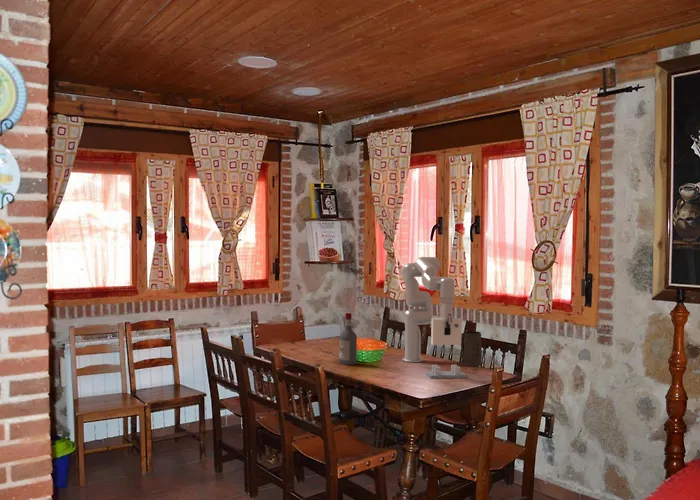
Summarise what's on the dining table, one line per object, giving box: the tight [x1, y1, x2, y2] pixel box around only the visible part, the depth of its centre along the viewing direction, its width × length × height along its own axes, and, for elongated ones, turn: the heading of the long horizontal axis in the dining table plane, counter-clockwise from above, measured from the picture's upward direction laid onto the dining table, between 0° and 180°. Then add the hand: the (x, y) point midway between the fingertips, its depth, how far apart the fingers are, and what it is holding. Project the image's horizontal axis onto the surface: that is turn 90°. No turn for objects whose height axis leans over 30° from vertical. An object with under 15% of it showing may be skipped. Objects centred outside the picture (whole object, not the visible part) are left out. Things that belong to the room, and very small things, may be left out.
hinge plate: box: [425, 364, 467, 379], centre depth 330 cm, size 10×20×6 cm, turn 98°
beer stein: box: [460, 330, 483, 367], centre depth 364 cm, size 15×11×20 cm
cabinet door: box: [430, 317, 463, 346], centre depth 329 cm, size 4×16×14 cm, turn 98°
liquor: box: [338, 312, 358, 366], centre depth 360 cm, size 9×9×30 cm
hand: (446, 334), depth 330 cm, fingers closed on cabinet door, 3 cm apart
